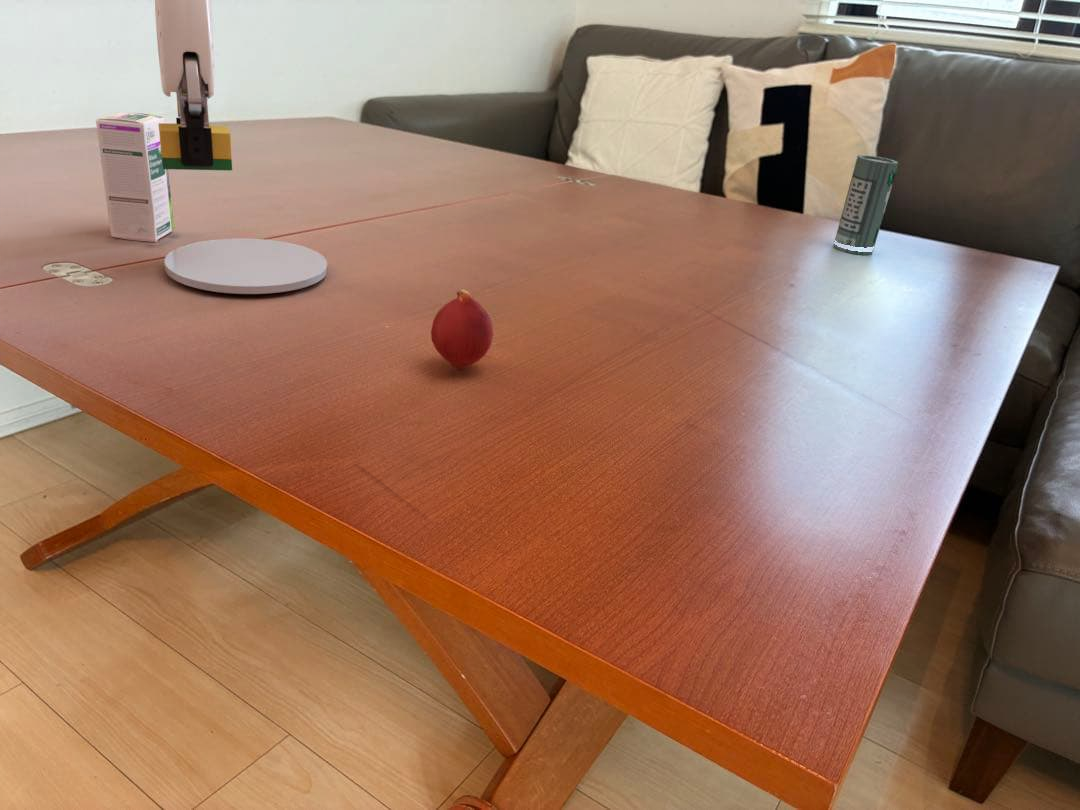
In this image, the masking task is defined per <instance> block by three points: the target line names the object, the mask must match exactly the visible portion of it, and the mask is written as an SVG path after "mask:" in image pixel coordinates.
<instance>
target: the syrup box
mask: <svg viewBox="0 0 1080 810" xmlns="http://www.w3.org/2000/svg"><path fill="white" fill-rule="evenodd" d="M159 123H164V124H165V122H164V117H163V116H160V115H159V116H158V115H155V114H150V113H141V112H120V111H118V112H116V113H114V114H110V115H107V116H104V117H98V118H97V119H96V120H95V124H96V132H97V139H98V145H99V146H98V148H99V155H100V163H101V170H102V171H101V172H102V177H103V178H102V179H103V185H104V192H105V193H104V195H105V200H106V208H107V216H108V223H109V230H110V236H111V237H112V238H116V239H122V240H129V241H130V240H131V241H139V242H151V243H156V242H158V241H159V240H160V239H162V238H163V237H165V236H166V235H168V234H169V233H172V232H174V230H175V224H174V214H173V204H172V194H171V193H172V192H171V183H170V173H169V169H163V165H162V157H161V146H160V135H159Z"/></svg>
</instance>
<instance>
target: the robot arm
mask: <svg viewBox="0 0 1080 810" xmlns="http://www.w3.org/2000/svg"><path fill="white" fill-rule="evenodd" d="M212 9H213V8H212V0H154V15H155V16H154V17H155V28H156V39H157V40H156V41H157V51H158V63H159V73H160V74H159V75H160V83H161V90H162V93H163V94H164V96H166V97H168V98H170V97H171V96H172V95H171V93H175V94H176V105H177V107H176V108H177V117H175V120H176V123H175V124H181V126H178V129H179V141H180V153H181V163H182V165H184V166H206V167H210V166H212V165H213V149H212V134H211V128H209V125H210V119H209V118H210V117H209V108H208V99H210V98H212V97H213V96H214V92H215V49H214V48H215V47H214V28H213V27H214V26H213V10H212Z"/></svg>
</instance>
